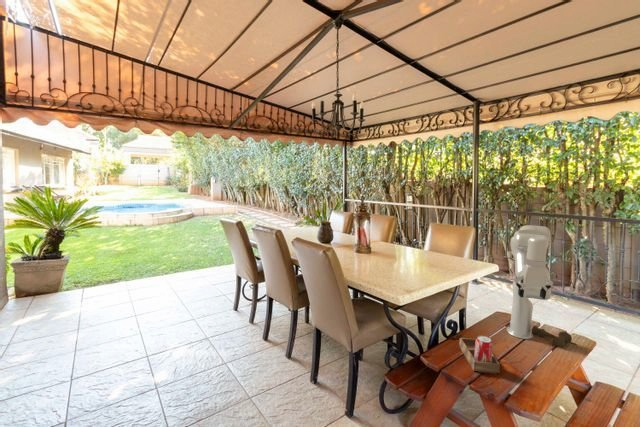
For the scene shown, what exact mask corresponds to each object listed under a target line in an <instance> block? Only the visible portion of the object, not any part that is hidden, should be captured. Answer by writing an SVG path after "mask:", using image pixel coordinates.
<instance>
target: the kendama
mask: <svg viewBox="0 0 640 427" xmlns="http://www.w3.org/2000/svg"><path fill="white" fill-rule="evenodd" d="M531 333H532V334H533V335H538V336H540V337H541V338H543V337H546V338H549V339H550V338H551V339H552V343H553V345H555V346H556V347H557V348H561V349H562V348H565V347H566V344H571V345H573V346H577V345H578V344H577V343H575V342H573V341H572V340H573V339H572V335H571V334H570V333H569V332H566V331H559V332H558V334H557V335H558V336H556V335H554V334H552V333H550V332H548V331H547V330H545V329H544V328H540V327H538V326H537V325H533V326H532V329H531Z"/></svg>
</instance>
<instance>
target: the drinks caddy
mask: <svg viewBox="0 0 640 427" xmlns="http://www.w3.org/2000/svg"><path fill="white" fill-rule="evenodd" d="M476 339H477V338H467V337H459V338H458V341H459V342H458V346H459V348H460V350H461V352H462V354H463V355H464V357H465V359H466V361H467V362H468V364H469V366H470V367H471V369H472V371H473V372H474V371H478V372H477V373H487V374H496V373H499V374H500V373H501V364H500V362H499V360H497V358H496V356H495V355H494V354H493V353H492V357H491V363H488V362H477V361H475V359H474V353H475V342H476Z"/></svg>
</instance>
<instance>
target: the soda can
mask: <svg viewBox="0 0 640 427" xmlns="http://www.w3.org/2000/svg"><path fill="white" fill-rule="evenodd" d="M475 339H476V342H475V353H474V359H475V361H477V362H488V363H491V357H492V354H493V342H492V339H491V338H490V337H489V336H487V335H478V336H477V338H475Z"/></svg>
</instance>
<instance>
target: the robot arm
mask: <svg viewBox="0 0 640 427" xmlns="http://www.w3.org/2000/svg"><path fill="white" fill-rule="evenodd" d="M550 238H551V231H550V229H549V227H547V226H544V225H543V226H541V225H533V224H532V225H531V224H529V225H528V224H527V225H523V226H521V227H520V228H519V230H516V231H515V232H514V234H513V236H512V237H511V238H510V241H509V242H510V243H509V244H510V250H511V253H512V255H513V259H514V269H515V270H514V271H515V272H514V273H515V276H516V278H514V279H513V282H512V304H511V305H512V307H511V317H510V321H509V324H510V326H507V327H506V332H507V333H508V334H509V335H511V336H513V337H515V338H517V339H522V340H531V339H533V338H534V334H532V331H531V330H532V329H531V327H532V319H533V310H534V305H533V303H532V302H531V300H530V299H534V300H535V299H536V300H540V301H548V300H550V299H551V296H552V286H553V284H554V282H553V281H552V280H551V277H550V272H549V269H548V268H547V267H546V265H548V264H549V261H548V260H546V259H547V250H548V248H549V246H550Z"/></svg>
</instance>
